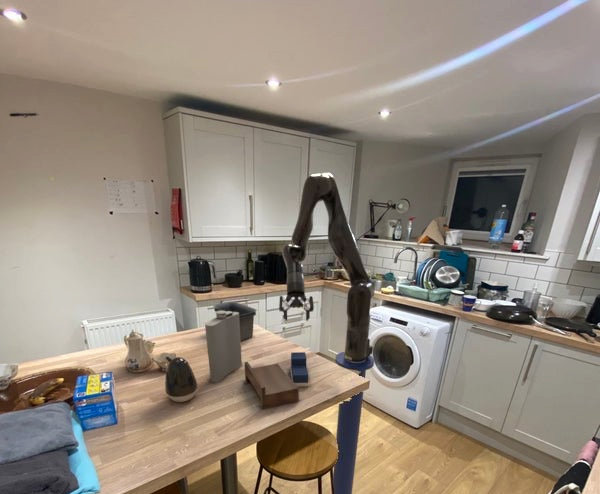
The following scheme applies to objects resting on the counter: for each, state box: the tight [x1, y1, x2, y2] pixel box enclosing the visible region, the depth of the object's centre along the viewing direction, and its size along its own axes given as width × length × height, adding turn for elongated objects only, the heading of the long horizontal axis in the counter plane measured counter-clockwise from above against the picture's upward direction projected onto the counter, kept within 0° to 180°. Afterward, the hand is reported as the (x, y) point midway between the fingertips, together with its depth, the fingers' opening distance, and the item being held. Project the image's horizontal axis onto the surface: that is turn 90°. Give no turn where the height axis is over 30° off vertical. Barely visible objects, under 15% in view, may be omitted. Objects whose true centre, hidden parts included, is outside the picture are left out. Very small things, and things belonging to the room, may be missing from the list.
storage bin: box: [212, 301, 257, 341], centre depth 165 cm, size 21×16×14 cm
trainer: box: [290, 351, 310, 387], centre depth 128 cm, size 14×6×8 cm, turn 5°
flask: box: [204, 311, 243, 383], centre depth 127 cm, size 17×5×25 cm, turn 155°
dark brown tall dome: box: [164, 356, 198, 403], centre depth 112 cm, size 10×10×15 cm
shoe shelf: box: [244, 361, 300, 410], centre depth 119 cm, size 13×20×8 cm, turn 24°
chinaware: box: [123, 329, 177, 373], centre depth 134 cm, size 28×17×17 cm, turn 54°
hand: (296, 319), depth 136 cm, fingers open, 8 cm apart
